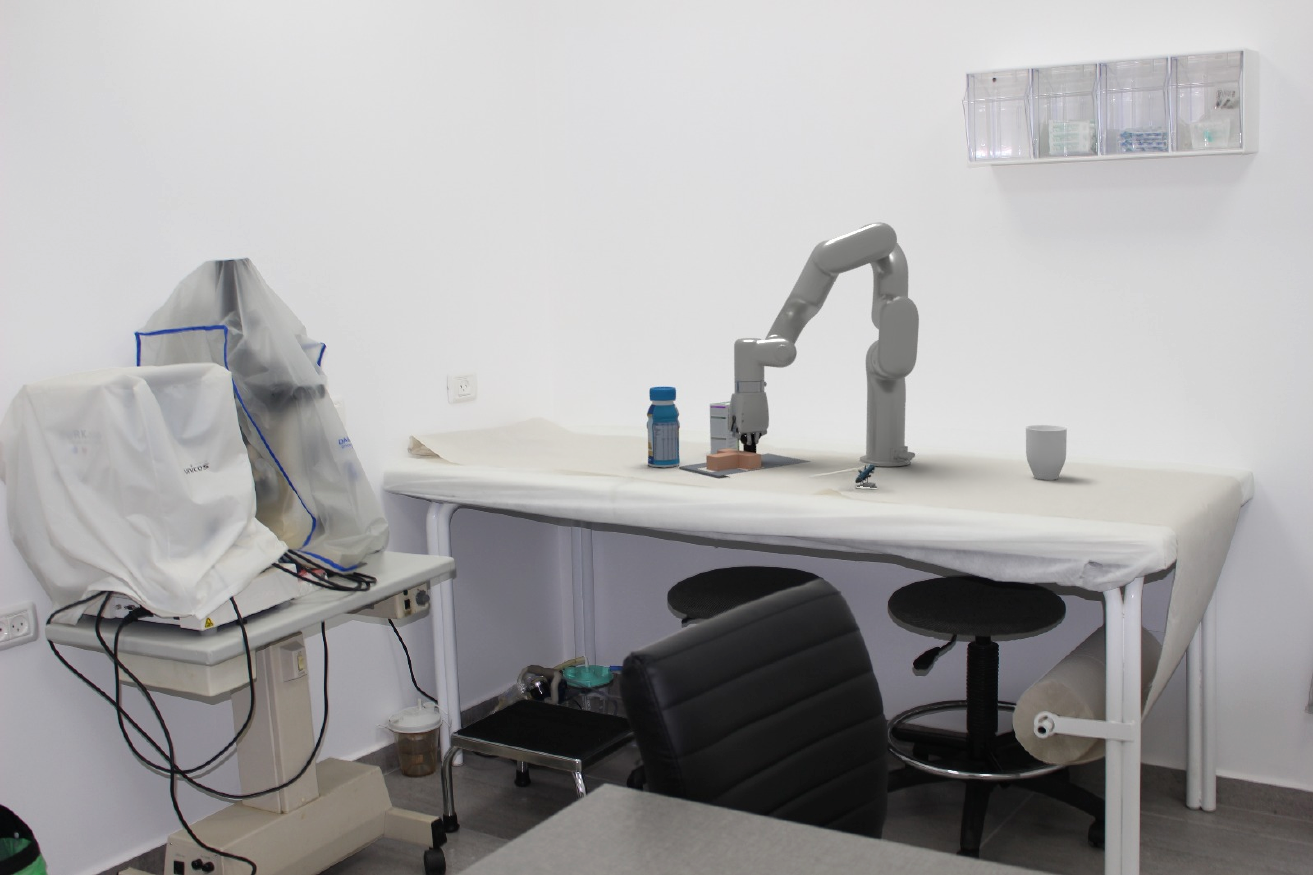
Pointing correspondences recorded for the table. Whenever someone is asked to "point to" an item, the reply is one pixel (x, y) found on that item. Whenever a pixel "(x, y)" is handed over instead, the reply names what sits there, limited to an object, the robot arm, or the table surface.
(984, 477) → the table surface
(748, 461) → the tee
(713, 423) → the syrup box
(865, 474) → the sculpture
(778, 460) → the mat
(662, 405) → the beverage bottle
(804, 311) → the robot arm
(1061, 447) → the mug
